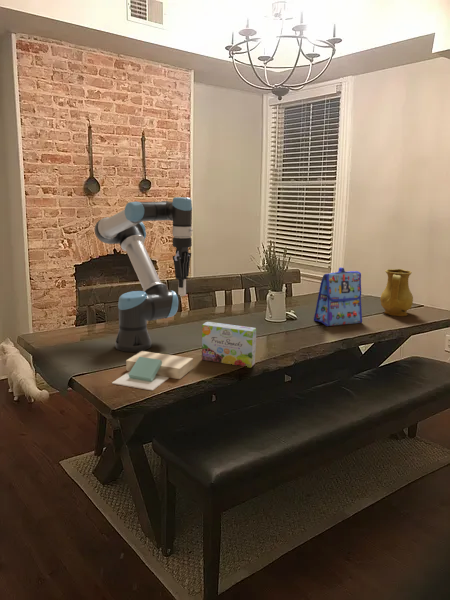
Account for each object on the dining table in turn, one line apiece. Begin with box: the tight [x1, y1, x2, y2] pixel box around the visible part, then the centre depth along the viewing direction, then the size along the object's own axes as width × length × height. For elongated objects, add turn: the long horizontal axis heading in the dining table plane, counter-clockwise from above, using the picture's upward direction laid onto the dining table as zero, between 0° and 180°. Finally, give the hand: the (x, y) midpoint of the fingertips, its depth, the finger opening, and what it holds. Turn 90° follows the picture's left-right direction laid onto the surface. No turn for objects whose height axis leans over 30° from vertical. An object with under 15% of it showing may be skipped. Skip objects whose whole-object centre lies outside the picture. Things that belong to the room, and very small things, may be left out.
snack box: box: [201, 321, 257, 368], centre depth 199 cm, size 21×6×15 cm, turn 69°
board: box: [125, 350, 194, 380], centre depth 191 cm, size 22×12×4 cm, turn 70°
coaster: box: [128, 357, 162, 382], centre depth 183 cm, size 9×9×2 cm
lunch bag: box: [313, 267, 363, 327], centre depth 261 cm, size 22×14×29 cm, turn 114°
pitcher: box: [379, 268, 414, 317], centre depth 281 cm, size 17×19×25 cm
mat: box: [111, 371, 169, 391], centre depth 180 cm, size 16×12×1 cm
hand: (182, 294), depth 206 cm, fingers closed
